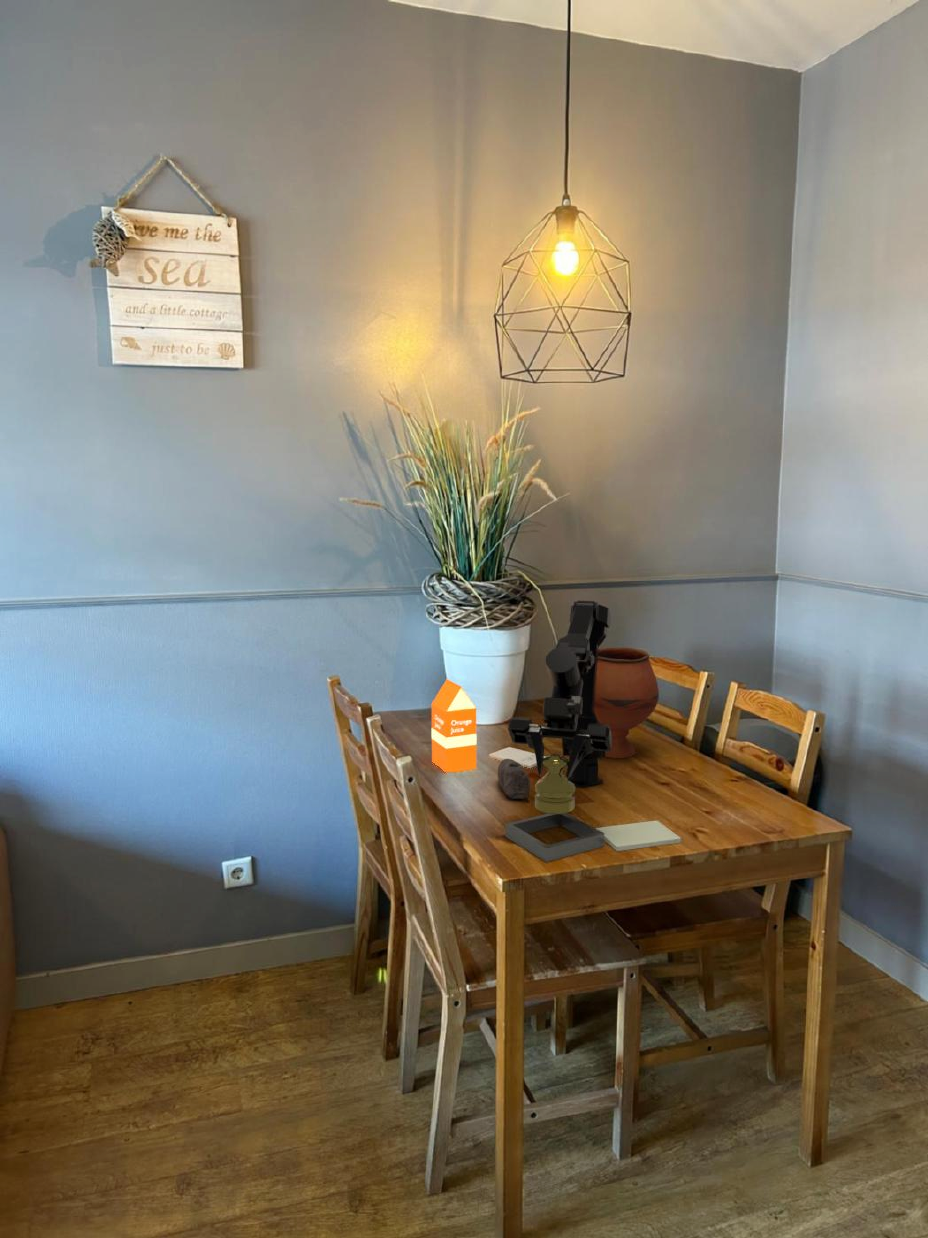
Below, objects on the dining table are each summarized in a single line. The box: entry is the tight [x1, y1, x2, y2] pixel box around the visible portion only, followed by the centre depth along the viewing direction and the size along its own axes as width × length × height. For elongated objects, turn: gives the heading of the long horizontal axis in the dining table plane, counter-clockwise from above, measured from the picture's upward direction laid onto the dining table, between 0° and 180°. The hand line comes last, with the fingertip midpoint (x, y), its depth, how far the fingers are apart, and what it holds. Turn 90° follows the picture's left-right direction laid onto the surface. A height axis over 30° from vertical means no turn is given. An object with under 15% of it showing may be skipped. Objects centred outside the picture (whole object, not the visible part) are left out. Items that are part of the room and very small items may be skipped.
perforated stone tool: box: [497, 759, 531, 800], centre depth 188 cm, size 15×5×7 cm, turn 10°
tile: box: [594, 820, 682, 852], centre depth 165 cm, size 13×9×1 cm
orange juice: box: [430, 678, 477, 774], centre depth 204 cm, size 8×9×20 cm
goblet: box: [594, 647, 660, 759], centre depth 213 cm, size 19×19×25 cm
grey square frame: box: [504, 813, 605, 863], centre depth 163 cm, size 13×13×2 cm
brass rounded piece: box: [534, 753, 576, 814], centre depth 161 cm, size 7×7×10 cm
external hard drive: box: [488, 746, 547, 770], centre depth 211 cm, size 2×8×12 cm
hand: (553, 775), depth 160 cm, fingers closed on brass rounded piece, 5 cm apart
